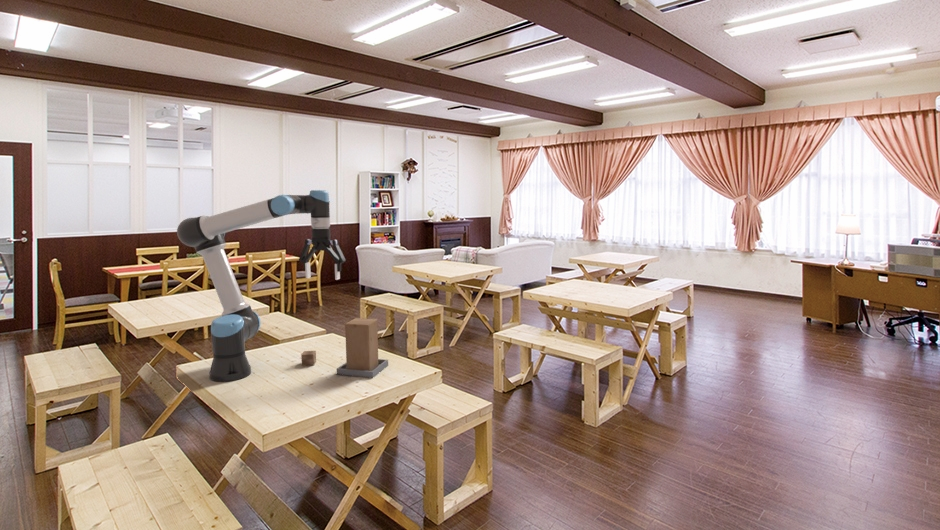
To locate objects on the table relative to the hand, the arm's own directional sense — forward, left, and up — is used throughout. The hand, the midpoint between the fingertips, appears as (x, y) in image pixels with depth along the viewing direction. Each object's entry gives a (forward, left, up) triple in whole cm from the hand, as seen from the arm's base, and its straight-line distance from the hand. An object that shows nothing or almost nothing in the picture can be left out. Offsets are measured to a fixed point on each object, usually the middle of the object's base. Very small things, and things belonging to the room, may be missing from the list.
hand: (322, 278), depth 216 cm
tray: (+19, -4, -37) cm, 42 cm away
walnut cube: (-7, -2, -37) cm, 38 cm away
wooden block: (+19, -4, -36) cm, 41 cm away
